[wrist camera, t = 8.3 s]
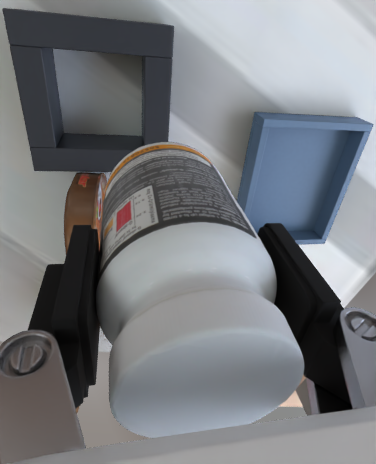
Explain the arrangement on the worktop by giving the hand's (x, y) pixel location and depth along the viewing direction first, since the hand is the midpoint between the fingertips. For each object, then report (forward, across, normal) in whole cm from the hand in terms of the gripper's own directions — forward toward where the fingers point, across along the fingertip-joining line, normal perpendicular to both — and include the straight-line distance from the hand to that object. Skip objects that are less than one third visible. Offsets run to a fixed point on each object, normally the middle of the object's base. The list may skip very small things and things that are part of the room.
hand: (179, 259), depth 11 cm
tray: (+21, -16, +6) cm, 28 cm away
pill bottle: (+5, 0, 0) cm, 5 cm away
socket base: (+21, +4, -1) cm, 22 cm away
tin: (+21, +5, +12) cm, 25 cm away
